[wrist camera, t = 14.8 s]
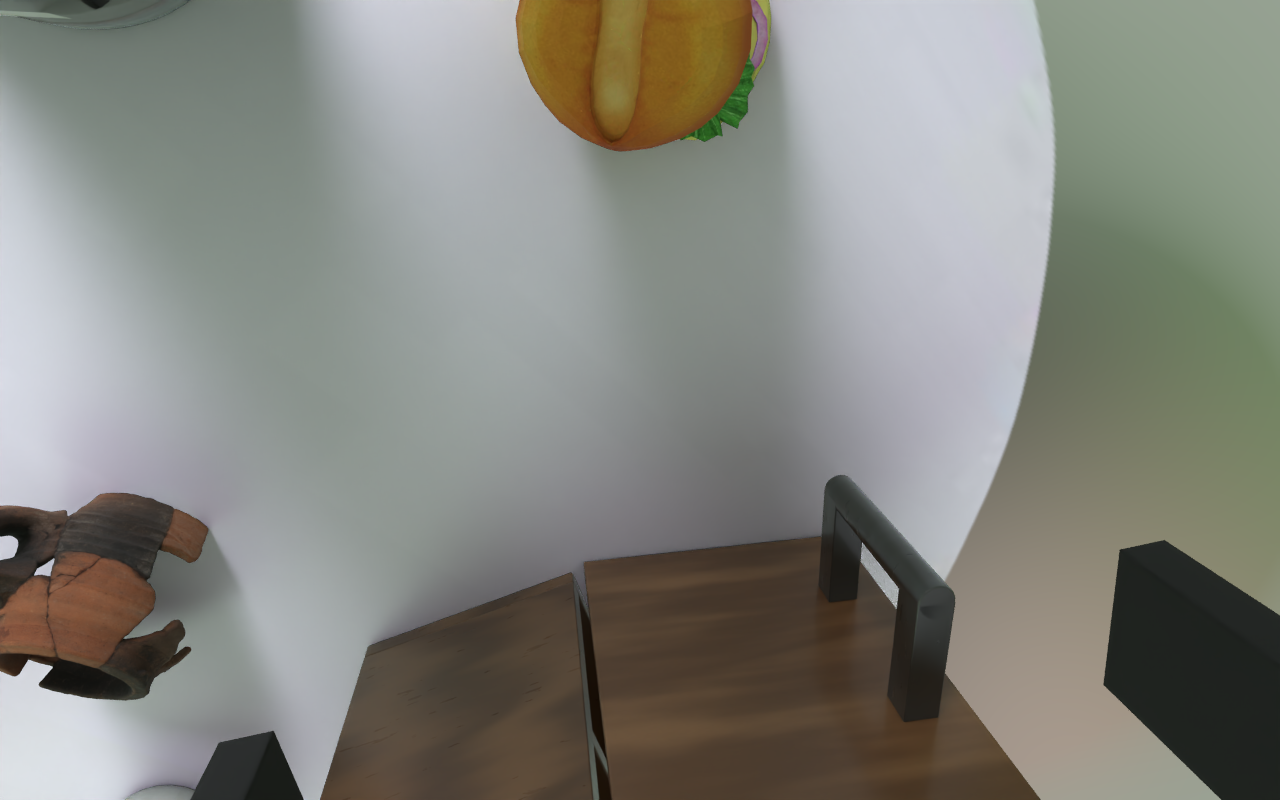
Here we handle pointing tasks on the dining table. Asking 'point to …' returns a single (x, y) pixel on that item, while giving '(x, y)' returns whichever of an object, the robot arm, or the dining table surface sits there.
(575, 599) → the cupboard
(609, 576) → the cupboard door
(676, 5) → the cheeseburger
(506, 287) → the dining table surface
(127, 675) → the pottery mug
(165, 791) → the cupcake
